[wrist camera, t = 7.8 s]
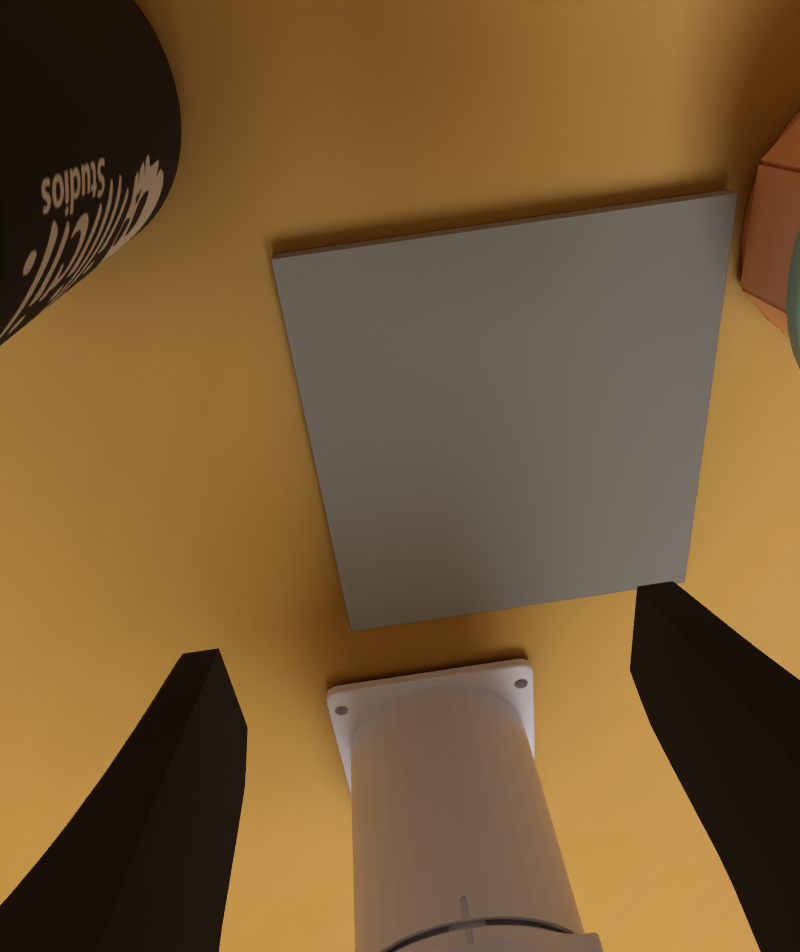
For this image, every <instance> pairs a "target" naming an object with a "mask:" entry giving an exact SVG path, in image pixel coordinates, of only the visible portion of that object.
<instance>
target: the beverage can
mask: <svg viewBox="0 0 800 952" xmlns="http://www.w3.org/2000/svg"><path fill="white" fill-rule="evenodd" d="M180 147H181V116H180V107H179V101H178V95H177V91H176V86H175V82H174V79H173V75H172V72H171V69H170V66H169V63H168V61H167V58H166V56H165V53H164V51H163V48H162V46H161V44H160V42H159V40H158V38H157V36H156V34H155V32H154V30H153V28H152V27H151V25H150V23H149V22H148V20H147V18H146V17H145V15H144V14H143V12H142V11H141V9H140V8H139V6H138V5H137V4H136V2H135V1H134V0H0V345H1V344H3V343H4V342H5V341H6V340H8V339H9V338H10V337H11V336H13V335H14V334H15V333H16V332H17V331H19V330H20V329H21V328H22V327H24V326H25V325H26V324H27V323H29V322H30V321H31V320H32V319H33V318H35V317H36V316H37V315H38V314H40V313H41V312H42V311H43V310H44V309H46V308H47V307H48V306H49V305H51V304H52V303H53V302H54V301H56V300H57V299H58V298H59V297H60V296H62V295H63V294H64V293H65V292H67V291H68V290H69V289H70V288H72V287H73V286H74V285H75V284H76V283H78V282H79V281H80V280H81V279H83V278H84V277H85V276H86V275H88V274H89V273H90V272H91V271H92V270H94V269H95V268H96V267H97V266H99V265H100V264H101V263H102V262H103V261H105V260H106V259H107V258H108V257H110V256H111V255H112V254H113V253H115V252H116V251H117V250H118V249H119V248H121V247H122V246H123V245H124V244H126V243H127V242H128V241H129V240H131V239H132V238H133V237H134V236H135V235H137V234H138V233H139V232H140V231H141V230H142V229H143V228H144V227H145V226H146V225H148V223H149V222H150V221H151V220H152V219H153V218H154V216H155V215H156V214H157V212H158V211H159V209H160V208H161V206H162V205H163V203H164V201H165V199H166V197H167V195H168V193H169V191H170V189H171V186H172V183H173V181H174V178H175V174H176V171H177V166H178V161H179V155H180Z"/></svg>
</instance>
